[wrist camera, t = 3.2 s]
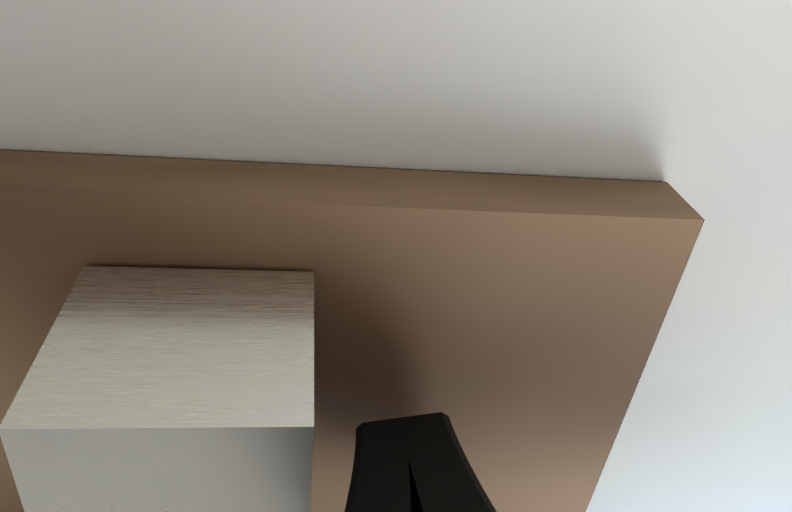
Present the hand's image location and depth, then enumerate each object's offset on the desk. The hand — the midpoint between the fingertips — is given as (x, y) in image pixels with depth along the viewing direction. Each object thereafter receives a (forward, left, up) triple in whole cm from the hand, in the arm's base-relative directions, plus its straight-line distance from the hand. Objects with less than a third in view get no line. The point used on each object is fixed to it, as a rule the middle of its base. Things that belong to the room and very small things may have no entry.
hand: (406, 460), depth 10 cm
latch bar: (-3, +3, -1) cm, 5 cm away
